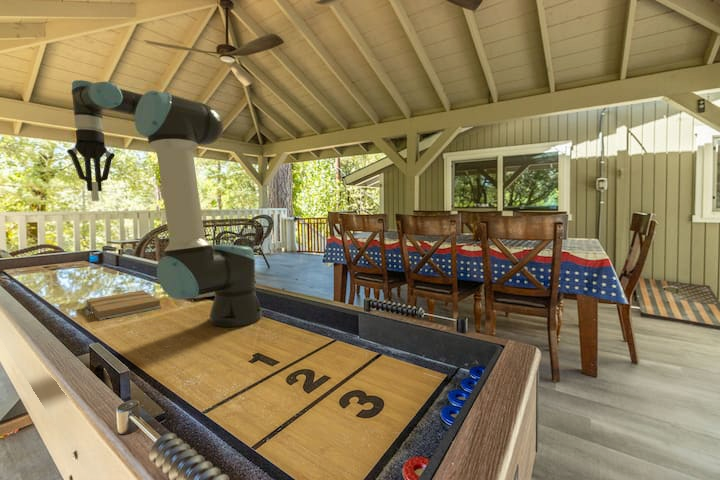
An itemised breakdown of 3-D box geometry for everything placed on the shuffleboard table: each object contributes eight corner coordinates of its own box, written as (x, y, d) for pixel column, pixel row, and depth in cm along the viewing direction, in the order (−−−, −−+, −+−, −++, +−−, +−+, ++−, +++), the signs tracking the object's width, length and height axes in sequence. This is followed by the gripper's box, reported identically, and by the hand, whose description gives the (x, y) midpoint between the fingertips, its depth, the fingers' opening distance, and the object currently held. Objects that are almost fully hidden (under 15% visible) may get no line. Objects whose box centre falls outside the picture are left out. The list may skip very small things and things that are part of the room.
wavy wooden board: (153, 301, 121) (152, 296, 121) (93, 312, 109) (93, 306, 109) (143, 295, 129) (143, 290, 128) (86, 304, 116) (86, 299, 116)
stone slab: (195, 279, 151) (222, 289, 129) (195, 286, 151) (222, 297, 129) (169, 283, 144) (193, 295, 122) (170, 291, 144) (194, 303, 122)
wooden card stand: (161, 308, 116) (160, 300, 116) (99, 320, 103) (99, 312, 103) (142, 296, 130) (141, 289, 130) (86, 306, 117) (85, 299, 117)
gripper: (110, 135, 122) (115, 201, 124) (62, 129, 112) (69, 200, 115) (115, 132, 117) (120, 201, 119) (66, 125, 107) (72, 200, 110)
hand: (95, 200), depth 117 cm, fingers closed
